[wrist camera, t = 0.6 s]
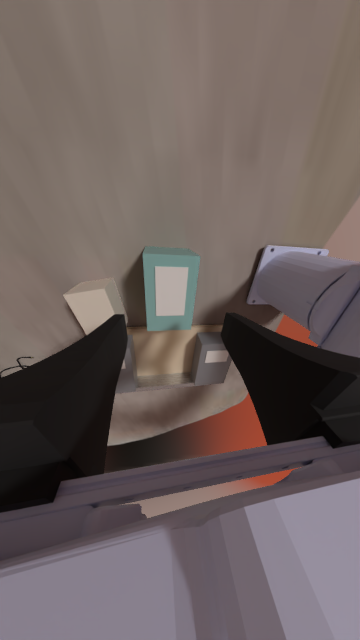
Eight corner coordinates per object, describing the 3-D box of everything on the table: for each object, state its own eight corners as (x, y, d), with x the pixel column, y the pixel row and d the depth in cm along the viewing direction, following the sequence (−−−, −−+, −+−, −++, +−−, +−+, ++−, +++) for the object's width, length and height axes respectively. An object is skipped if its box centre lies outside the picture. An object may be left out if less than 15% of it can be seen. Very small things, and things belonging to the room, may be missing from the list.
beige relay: (113, 277, 18) (104, 288, 15) (128, 318, 21) (123, 334, 18) (79, 282, 18) (63, 295, 15) (100, 323, 21) (89, 341, 18)
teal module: (188, 248, 18) (200, 256, 13) (183, 308, 22) (191, 330, 17) (145, 246, 17) (142, 253, 12) (148, 308, 21) (147, 331, 16)
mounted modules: (229, 331, 25) (237, 343, 22) (217, 369, 30) (223, 383, 27) (92, 336, 21) (84, 351, 19) (105, 378, 26) (100, 395, 24)
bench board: (231, 324, 25) (233, 326, 24) (217, 372, 31) (218, 374, 31) (88, 328, 21) (87, 330, 21) (105, 381, 27) (104, 384, 27)
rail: (217, 369, 30) (222, 380, 28) (216, 373, 30) (221, 383, 28) (105, 378, 26) (101, 391, 24) (106, 382, 27) (102, 394, 25)
